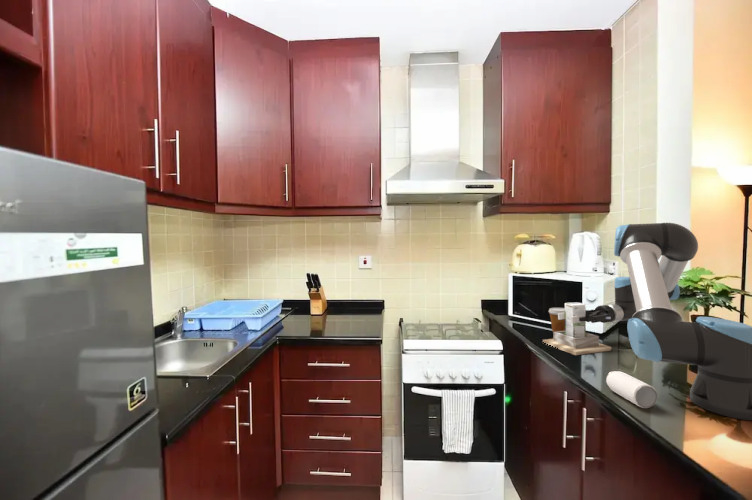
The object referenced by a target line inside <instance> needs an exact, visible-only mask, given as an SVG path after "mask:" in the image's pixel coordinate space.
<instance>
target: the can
mask: <svg viewBox="0 0 752 500" xmlns="http://www.w3.org/2000/svg"><path fill="white" fill-rule="evenodd" d="M605 383H606V385H607V386H608V388H609V389H610V390H611V391H613V392H614V393H616V394H617V395H619V396H621V397H622V398H624V399H625V400H627V401H629V402H631V403H632V404H635V405H636V406H637V407H639V408H642V409H648V408H649V409H650V408H652V407H653V406H655V404H656V403H657V400H658V392H657V391H656V389H655V388H654V386H652V385H650V384H648V383H646V382H644V381H642V380H640V379H638V378H637V377H634V376H631V375H630V374H628V373H625V372H623V371H618V370H612V371H610V372H608V374H607V375H606V378H605Z"/></svg>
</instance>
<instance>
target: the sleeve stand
mask: <svg viewBox="0 0 752 500" xmlns="http://www.w3.org/2000/svg"><path fill="white" fill-rule="evenodd" d="M552 333H553V337H552V338H548V339H546V338H545V339H542V343H543V342H544V343H546V344H545V345H547V344H548V345H547V346H549V345H551V346H550V347H552V346H553V347H552V348H555V347H556V348H555V349H557V348H558V350H560V351H564V352H566V353H569V354H571V355H573V356H580V355H588V354H595V353H596V354H597V353H603V352H610V351H611V352H612V346H610V345H606V344H603V343H600V336H599V335H597V334H593V333H590V332H586V337H580V338H573V337H570V336H567V335H565V331H557V332H553V331H552ZM544 343H543V344H544Z"/></svg>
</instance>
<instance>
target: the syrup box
mask: <svg viewBox="0 0 752 500" xmlns="http://www.w3.org/2000/svg"><path fill="white" fill-rule="evenodd" d="M564 308H565V335H567V336H570V337H573V338H580V337H586V333H587V331H586V330H587V328H586V324H587V323H586V321H585V322H579V323H571V316H580V315H585V317H586V313H585V309H586V304H585V303H582V302H577V301H576V302H565V303H564Z"/></svg>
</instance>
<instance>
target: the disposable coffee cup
mask: <svg viewBox="0 0 752 500" xmlns="http://www.w3.org/2000/svg"><path fill="white" fill-rule="evenodd" d="M548 313H549V317H550V324H551V330H552V333H553V332H557V331H565V319H561V320H559V319H558V313H565V307H550V308H549V309H548Z"/></svg>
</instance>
